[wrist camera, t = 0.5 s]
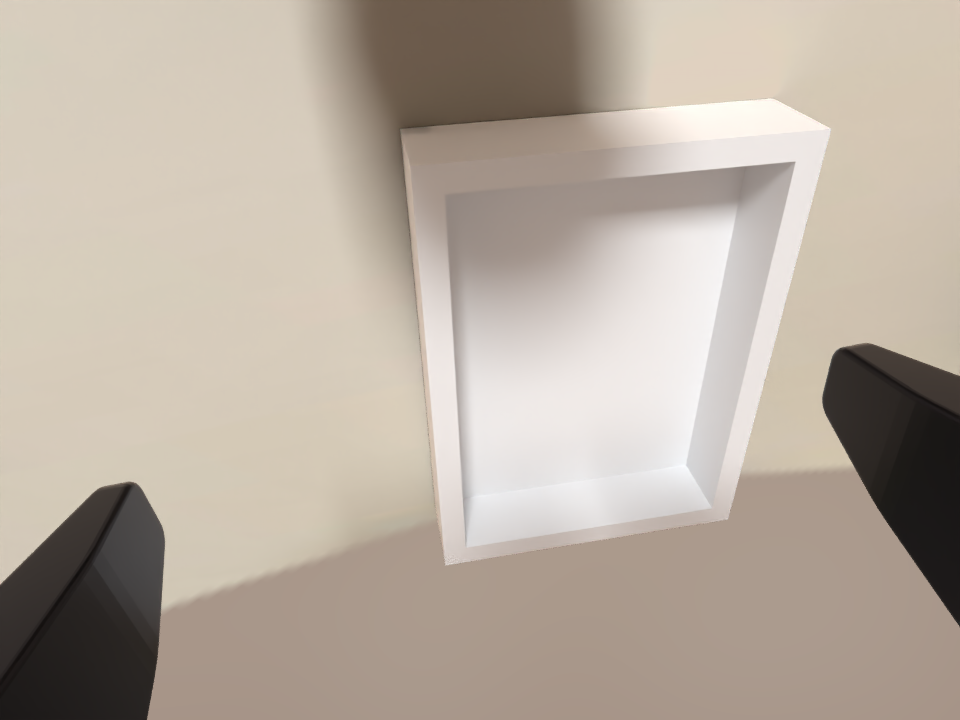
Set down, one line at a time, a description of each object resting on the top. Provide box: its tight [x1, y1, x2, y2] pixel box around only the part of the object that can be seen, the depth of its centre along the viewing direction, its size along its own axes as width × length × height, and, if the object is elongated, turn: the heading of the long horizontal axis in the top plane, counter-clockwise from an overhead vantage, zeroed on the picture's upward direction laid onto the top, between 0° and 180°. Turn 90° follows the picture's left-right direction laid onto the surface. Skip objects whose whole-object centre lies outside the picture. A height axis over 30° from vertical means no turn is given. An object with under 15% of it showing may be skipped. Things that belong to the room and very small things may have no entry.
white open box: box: [400, 98, 831, 565], centre depth 23 cm, size 11×15×3 cm
